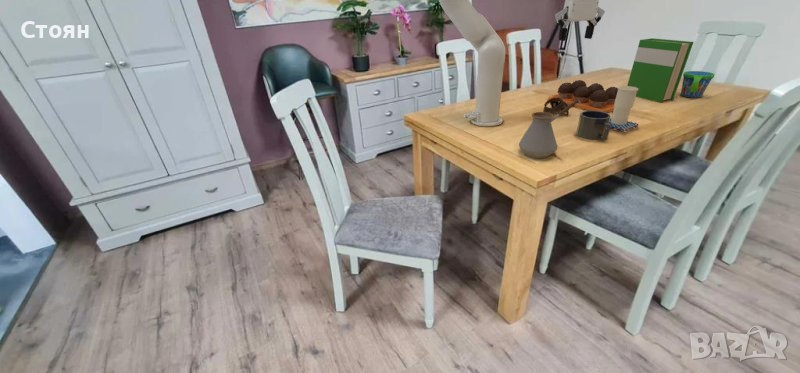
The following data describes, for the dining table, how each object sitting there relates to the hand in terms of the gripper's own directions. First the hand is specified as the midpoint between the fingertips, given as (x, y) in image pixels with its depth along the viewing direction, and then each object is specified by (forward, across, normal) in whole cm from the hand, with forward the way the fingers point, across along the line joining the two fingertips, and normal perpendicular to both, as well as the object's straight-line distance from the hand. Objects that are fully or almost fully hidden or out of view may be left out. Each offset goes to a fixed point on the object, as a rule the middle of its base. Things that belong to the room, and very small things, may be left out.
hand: (575, 39), depth 116 cm
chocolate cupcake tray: (+31, -25, -20) cm, 44 cm away
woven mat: (+31, -16, +11) cm, 36 cm away
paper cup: (+28, -16, +11) cm, 34 cm away
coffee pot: (+31, +18, +23) cm, 42 cm away
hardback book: (+31, -56, -20) cm, 67 cm away
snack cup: (+31, -73, -15) cm, 81 cm away
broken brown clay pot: (+31, -4, -10) cm, 32 cm away
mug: (+30, -2, +18) cm, 35 cm away
